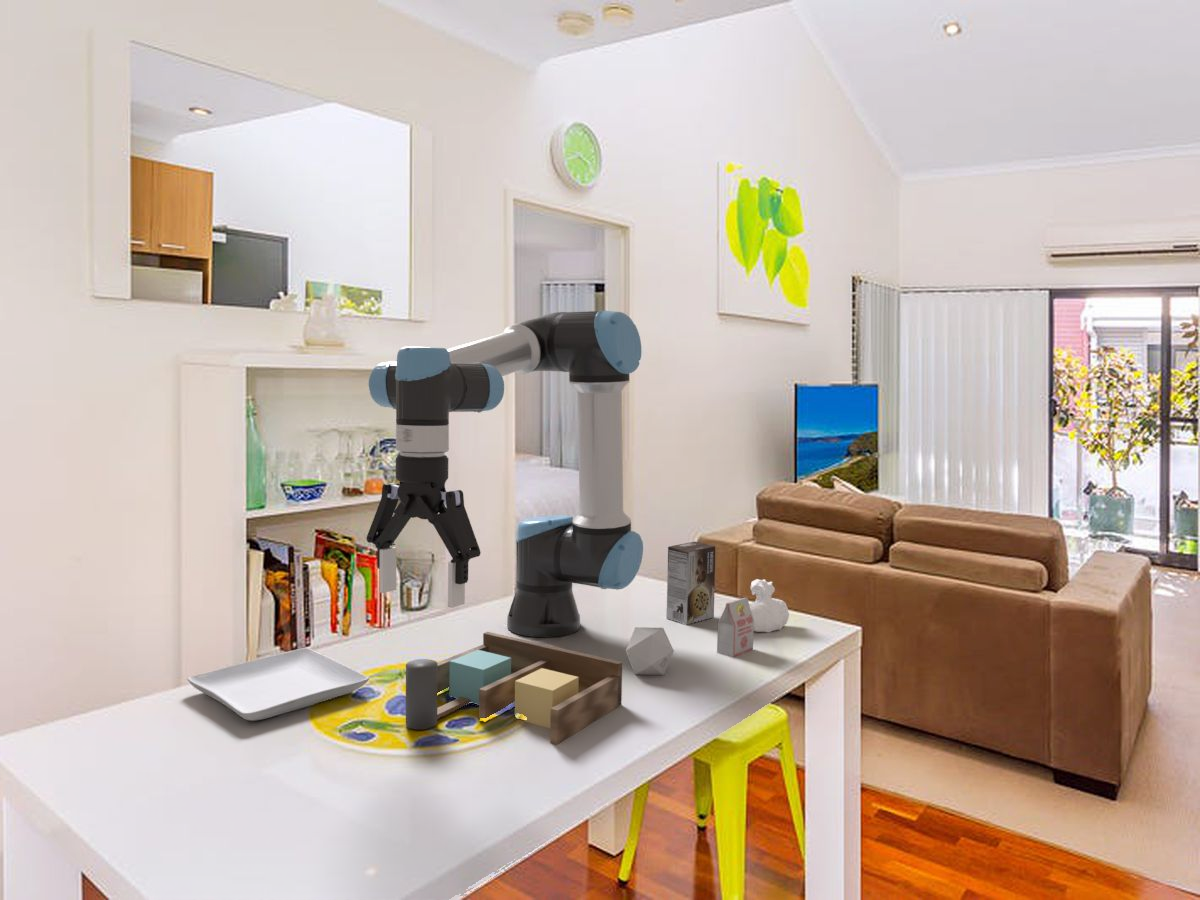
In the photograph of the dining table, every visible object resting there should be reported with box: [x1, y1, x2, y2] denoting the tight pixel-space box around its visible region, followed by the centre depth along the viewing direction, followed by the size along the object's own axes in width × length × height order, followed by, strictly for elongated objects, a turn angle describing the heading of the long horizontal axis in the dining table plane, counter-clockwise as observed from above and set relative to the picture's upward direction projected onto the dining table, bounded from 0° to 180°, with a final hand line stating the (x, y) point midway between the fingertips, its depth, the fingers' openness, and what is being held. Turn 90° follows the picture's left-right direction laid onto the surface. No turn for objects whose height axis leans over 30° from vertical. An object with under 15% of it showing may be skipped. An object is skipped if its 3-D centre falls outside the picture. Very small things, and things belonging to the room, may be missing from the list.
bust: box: [749, 578, 790, 633], centre depth 181 cm, size 12×8×11 cm
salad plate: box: [187, 647, 370, 722], centre depth 138 cm, size 21×21×3 cm
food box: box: [665, 541, 716, 625], centre depth 186 cm, size 9×6×16 cm
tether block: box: [405, 650, 511, 730], centre depth 133 cm, size 19×7×9 cm, turn 148°
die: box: [625, 626, 675, 676], centre depth 152 cm, size 8×9×10 cm
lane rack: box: [436, 631, 623, 745], centre depth 136 cm, size 18×28×7 cm, turn 58°
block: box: [514, 668, 579, 729], centre depth 131 cm, size 7×7×6 cm
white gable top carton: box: [716, 597, 755, 658], centre depth 164 cm, size 4×7×10 cm, turn 137°
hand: (421, 598), depth 125 cm, fingers open, 13 cm apart
